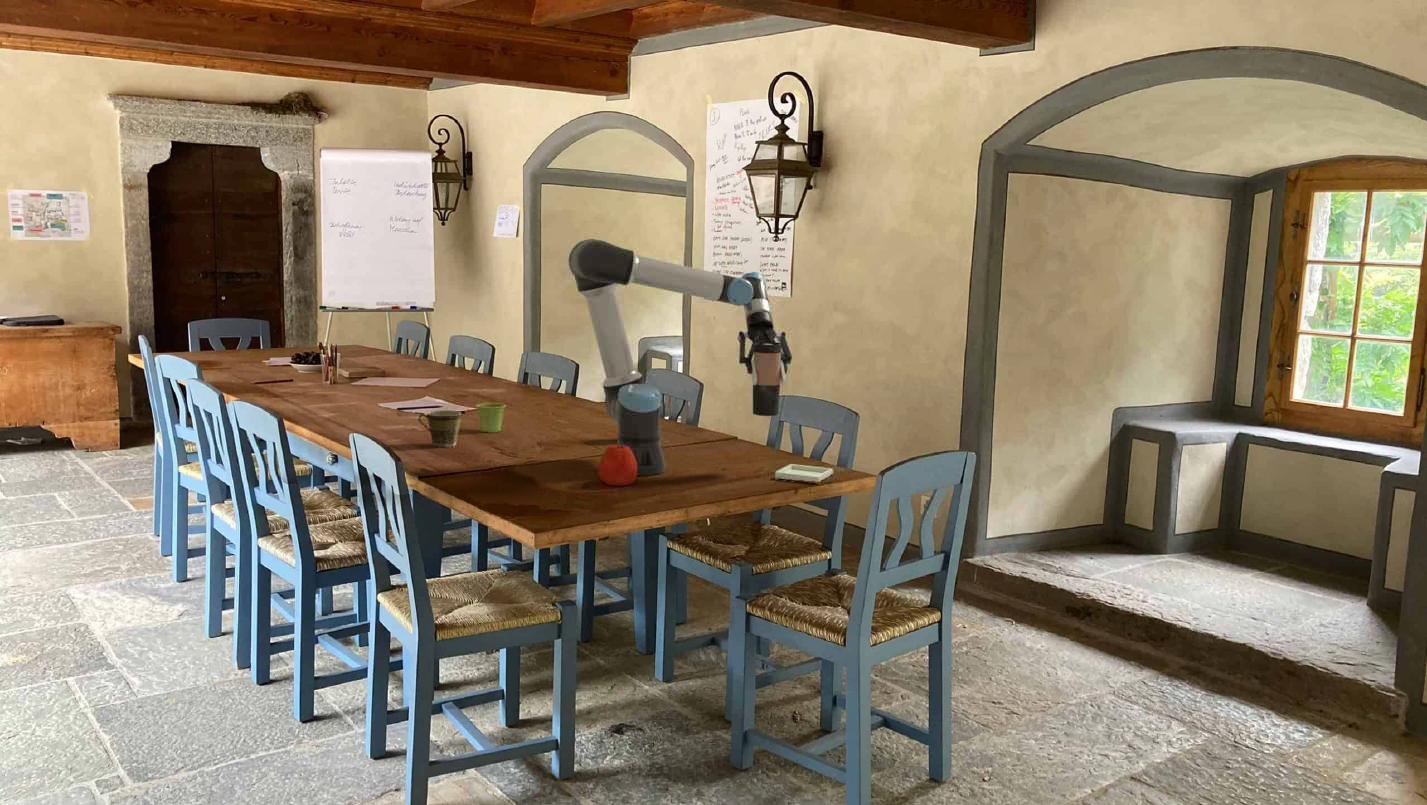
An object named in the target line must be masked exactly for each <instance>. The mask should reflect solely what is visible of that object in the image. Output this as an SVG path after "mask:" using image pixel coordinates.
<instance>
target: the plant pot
mask: <svg viewBox="0 0 1427 805" xmlns="http://www.w3.org/2000/svg"><path fill="white" fill-rule="evenodd" d="M506 406H507V405H506V404H504V403H499V402H498V403H496V402H495V403H494V402H490V403H489V402H487V403H479V404H476V408H477V411H478V414H479V420H480V421H479V422H480V429H481V432H483V433H485V432H487V433H498V432H501V431H502V423H503V416H504V411H505V408H506Z"/></svg>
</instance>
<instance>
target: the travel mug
mask: <svg viewBox="0 0 1427 805" xmlns="http://www.w3.org/2000/svg"><path fill="white" fill-rule="evenodd" d="M781 352H782V349H781V343H780V342H778V341H777V342H776V341H775V342H755V343H754V354H753V360H754V363H755V368H756V375H757V382H756V385H753V384H752V414H753V415H755V416H761V417H774V416H777V415H779V407H780V406H779V405H780V404H779V403H780V390H781V379H780V368H781Z"/></svg>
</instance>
